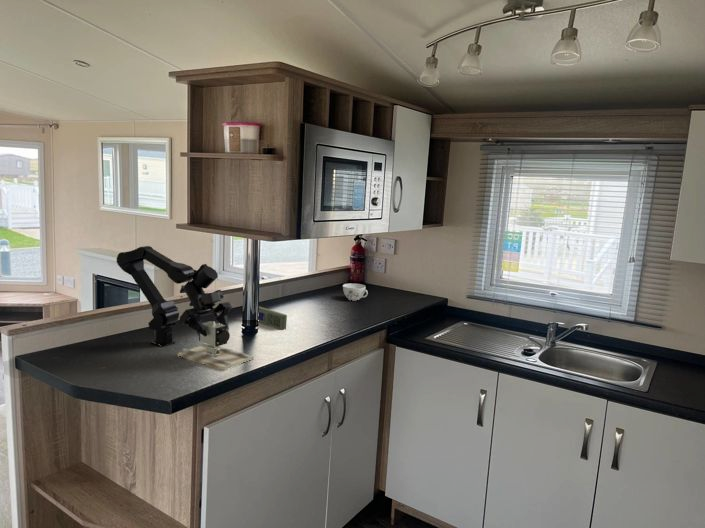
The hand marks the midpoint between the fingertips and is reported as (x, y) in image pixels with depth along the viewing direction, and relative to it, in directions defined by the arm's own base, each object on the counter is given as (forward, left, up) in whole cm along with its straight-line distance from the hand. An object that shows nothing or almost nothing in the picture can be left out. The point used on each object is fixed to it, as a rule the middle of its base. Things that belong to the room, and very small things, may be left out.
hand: (217, 333), depth 174 cm
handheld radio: (-17, +45, -9) cm, 49 cm away
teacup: (-11, +113, -9) cm, 114 cm away
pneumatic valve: (-1, -1, -8) cm, 8 cm away
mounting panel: (-1, 0, -9) cm, 9 cm away
